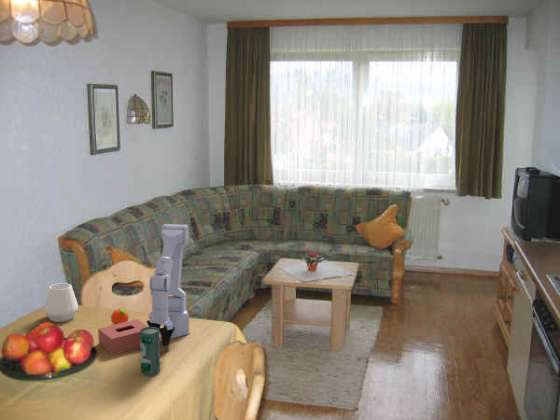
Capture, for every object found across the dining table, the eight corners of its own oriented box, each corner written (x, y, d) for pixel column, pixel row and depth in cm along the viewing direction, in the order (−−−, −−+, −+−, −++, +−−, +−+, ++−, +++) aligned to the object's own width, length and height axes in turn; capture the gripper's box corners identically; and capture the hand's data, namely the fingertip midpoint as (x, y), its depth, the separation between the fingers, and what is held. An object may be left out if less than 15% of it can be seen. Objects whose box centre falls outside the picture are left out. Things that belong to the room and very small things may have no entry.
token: (165, 349, 210) (165, 337, 209) (168, 351, 209) (168, 339, 208) (153, 353, 207) (153, 340, 206) (156, 355, 206) (156, 342, 205)
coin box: (137, 333, 224) (137, 319, 223) (152, 343, 215) (151, 328, 214) (98, 343, 214) (98, 328, 213) (112, 354, 205) (111, 339, 204)
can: (140, 369, 195) (139, 328, 192) (157, 366, 197) (157, 325, 194) (143, 377, 189) (142, 335, 186) (161, 374, 192) (160, 332, 189)
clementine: (134, 325, 232) (133, 309, 231) (121, 330, 226) (120, 314, 225) (120, 321, 236) (120, 304, 235) (107, 326, 231) (107, 309, 229)
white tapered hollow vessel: (71, 324, 232) (70, 291, 229) (39, 323, 232) (37, 290, 229) (83, 312, 245) (81, 281, 242) (52, 311, 245) (50, 280, 242)
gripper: (141, 303, 208) (141, 338, 210) (160, 315, 197) (160, 351, 199) (158, 299, 212) (158, 333, 214) (177, 310, 201) (178, 346, 204)
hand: (160, 342), depth 207 cm, fingers open, 7 cm apart
